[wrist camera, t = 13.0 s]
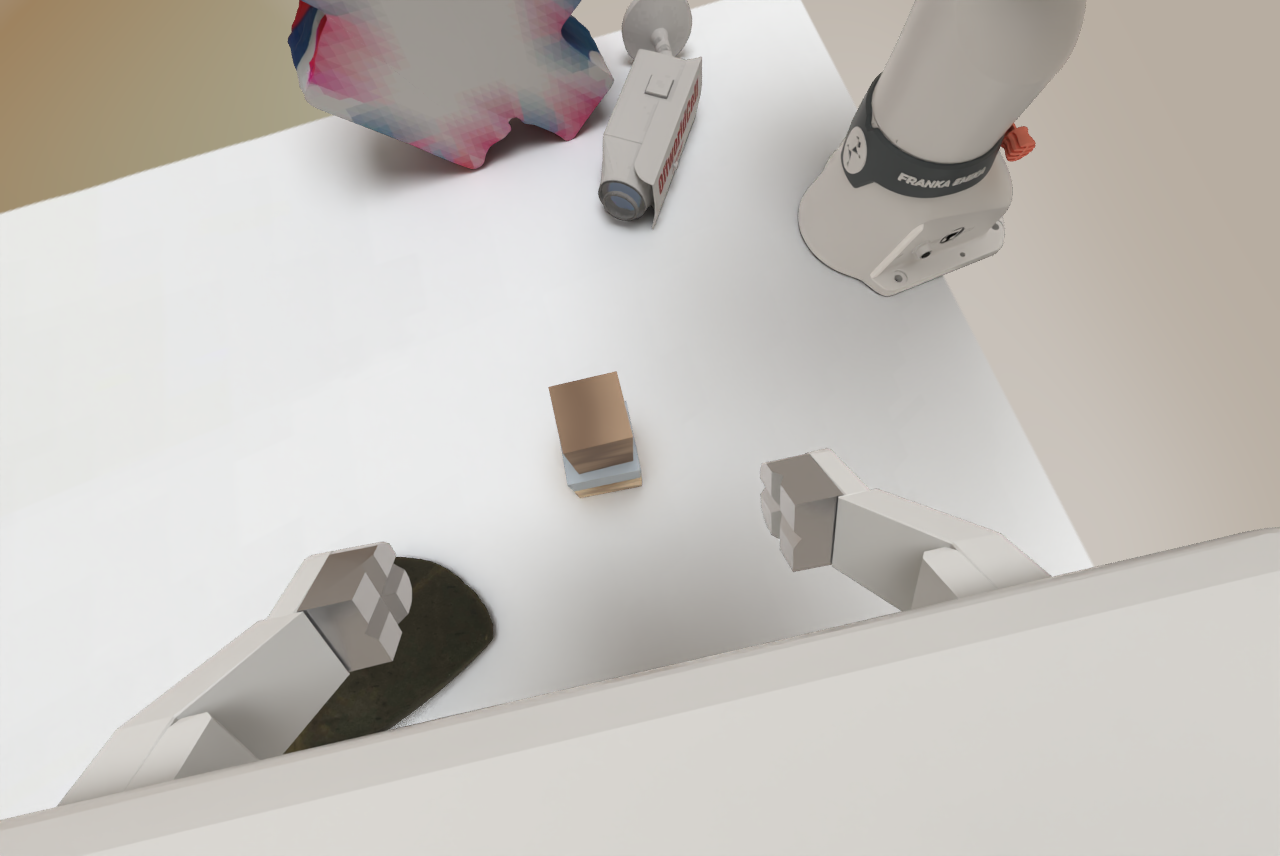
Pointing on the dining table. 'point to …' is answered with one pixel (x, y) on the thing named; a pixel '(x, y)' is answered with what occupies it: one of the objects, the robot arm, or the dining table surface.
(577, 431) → the walnut pillar
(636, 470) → the slate block
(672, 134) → the security camera
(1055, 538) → the dining table surface
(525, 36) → the sculpture
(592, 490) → the oak block
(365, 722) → the stone tool
